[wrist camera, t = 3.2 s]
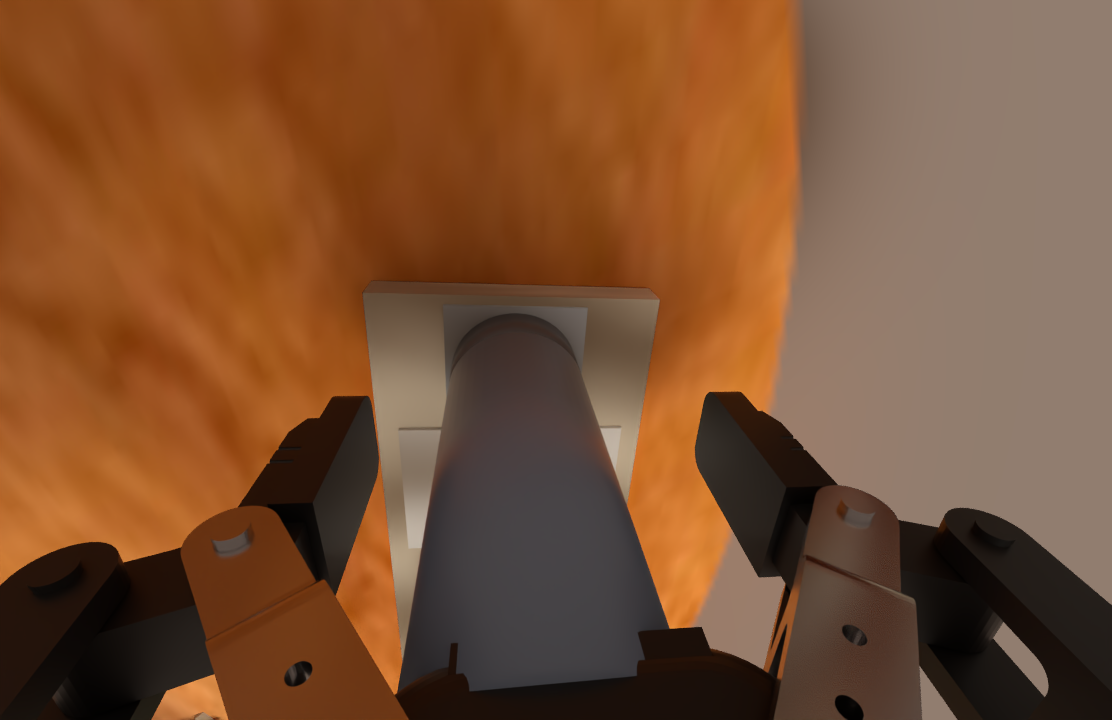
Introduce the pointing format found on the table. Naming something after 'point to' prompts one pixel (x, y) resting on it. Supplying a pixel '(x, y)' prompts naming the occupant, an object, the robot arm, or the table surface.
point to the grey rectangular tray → (425, 366)
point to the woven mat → (203, 717)
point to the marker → (526, 525)
